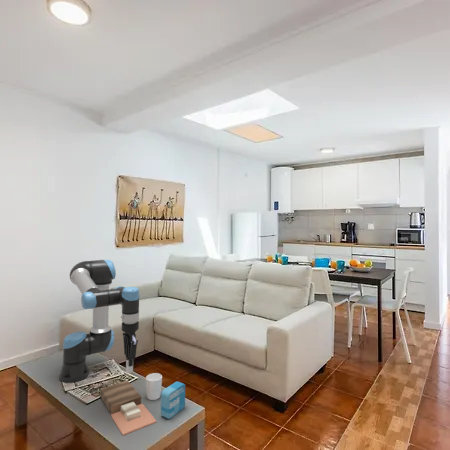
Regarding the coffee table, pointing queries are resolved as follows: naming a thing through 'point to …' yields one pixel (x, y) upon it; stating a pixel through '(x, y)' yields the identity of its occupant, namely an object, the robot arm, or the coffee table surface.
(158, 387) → the white cup
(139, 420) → the terracotta mat
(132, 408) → the birch tile
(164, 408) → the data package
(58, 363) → the coffee table surface
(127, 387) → the block
